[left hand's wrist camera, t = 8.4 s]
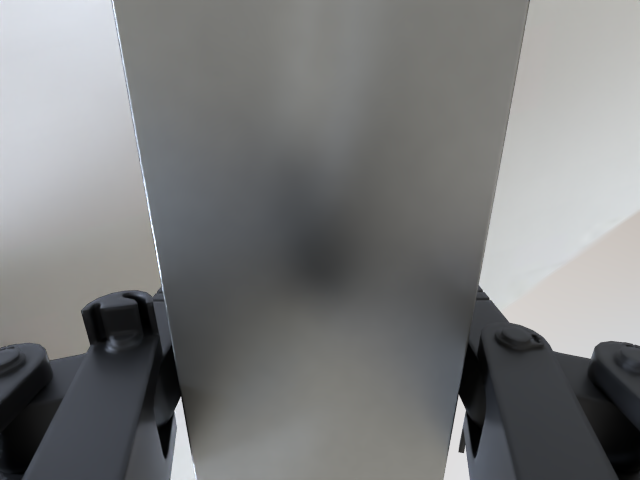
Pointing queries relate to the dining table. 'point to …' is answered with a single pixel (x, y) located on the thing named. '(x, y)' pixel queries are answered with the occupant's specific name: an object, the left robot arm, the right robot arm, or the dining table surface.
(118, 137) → the dining table surface
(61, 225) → the dining table surface
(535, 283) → the dining table surface
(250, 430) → the bar
